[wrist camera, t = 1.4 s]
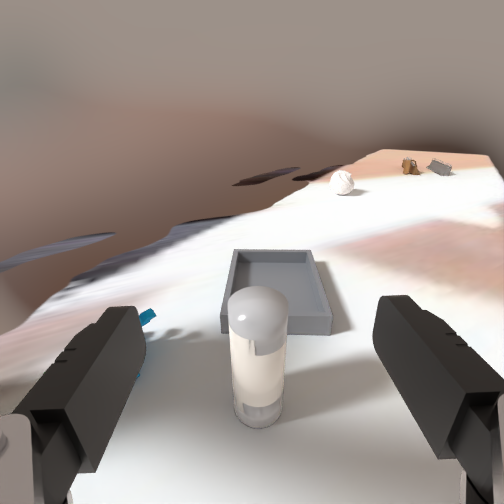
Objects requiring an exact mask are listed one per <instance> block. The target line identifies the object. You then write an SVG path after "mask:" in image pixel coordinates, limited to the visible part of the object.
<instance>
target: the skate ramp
mask: <svg viewBox="0 0 504 504" xmlns="http://www.w3.org/2000/svg"><path fill="white" fill-rule="evenodd" d="M407 158H408V157H407ZM404 159H405V158H404ZM404 159H403V163H402V167H403V168H404V170H403V173H404V174H408V172H410V173H411V174H413V175H420V174H419V173H418V169H417V165H416V161H415V160H410V159H409V158H408V159H406V160H404ZM435 160H436V159H435ZM435 160H433V159H432V162H431V164H430V165H429V166H428V167H426V168H428V169H430V170H431V171H433V172H435V173H437V174H439V175H441V176H449V174H450V171H451V168H452V166H451V165H450V164H449V165H450V166H451V167H449V166H447V165H448V164H447V165H445V164H442V163H443V161H442V163H440V162H438V161H435ZM412 161H414V162H415V164H413V162H412ZM440 161H441V160H440ZM445 163H446V162H445Z"/></svg>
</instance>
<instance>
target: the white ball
mask: <svg viewBox="0 0 504 504" xmlns="http://www.w3.org/2000/svg"><path fill="white" fill-rule="evenodd" d="M330 188H331V190H332V191H333V192H334V193H336V194H339V195H345V194H348V193H350V192H351V190H352V189H353V188H354V182H353V180H352V178H351V174H350V173H349V172H346V171H343V170H339V171H337V172H335V173H334V174H333V175H332V177H331V179H330Z"/></svg>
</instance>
